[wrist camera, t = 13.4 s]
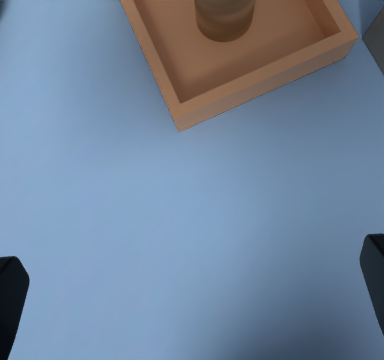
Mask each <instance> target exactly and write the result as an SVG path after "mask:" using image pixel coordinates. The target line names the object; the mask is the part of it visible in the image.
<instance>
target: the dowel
mask: <svg viewBox="0 0 384 360" xmlns="http://www.w3.org/2000/svg"><path fill="white" fill-rule="evenodd" d="M194 4H195V13H196V22H197V26H198V28H199V30H200V31H201V33H202V34H203V35H204V36H206V37H207V38H209V39H210V40H213V41H216V42H230V41H234V40H236V39H238V38H240V37H241V36H243V35H244V34H245V33H246V32H247V31H248V29H249V27H250V25H251V23H252V18H253V11H254V4H255V0H194Z"/></svg>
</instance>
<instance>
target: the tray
mask: <svg viewBox="0 0 384 360" xmlns="http://www.w3.org/2000/svg"><path fill="white" fill-rule="evenodd" d="M120 2H121V4H122V6H123V8H124V11H125V13H126V15H127V17H128V20H129V22H130V24H131V26H132V29H133V31H134V33H135V35H136V38H137V40H138V42H139V44H140V46H141V49H142V51H143V53H144V55H145V58H146V60H147V62H148V64H149V67H150V69H151V71H152V73H153V76H154V78H155V80H156V82H157V84H158V87H159V89H160V91H161V93H162V96H163V98H164V100H165V102H166V105H167V107H168V109H169V111H170V114H171V116H172V118H173V120H174V123H175V125H176V127H177V129H178V131H179V132H180V131H183V130H185V129H187V128H189V127H192V126H194V125H196V124H198V123H201V122H203V121H205V120H207V119H209V118H212V117H214V116H216V115H218V114H221V113H223V112H225V111H227V110H229V109H232V108H234V107H236V106H238V105H241V104H243V103H245V102H247V101H250V100H252V99H254V98H256V97H258V96H261V95H263V94H265V93H267V92H270V91H272V90H274V89H276V88H279V87H281V86H283V85H285V84H287V83H290V82H292V81H294V80H296V79H299V78H301V77H303V76H305V75H307V74H310V73H312V72H314V71H316V70H319V69H321V68H323V67H325V66H328V65H330V64H332V63H334V62H336V61H339V60H341V59H343V58H345V57H346V55H347V54H348V52H349V51H350V50H351V48H352V47H353V45H354V44H355V42H356V41H357V39H358V38H359V35H358V34H357V32H356V30H355V29H354V27H353V25H352V24H351V22H350V20H349V19H348V17H347V15H346V14H345V12H344V10H343V9H342V7H341V5H340V4H339V2H338V0H255V4H254V11H253V18H252V23H251V25H250V27H249V29H248V31H247V32H246V33H245V34H244V35H243V36H241V37H240V38H238V39H236V40H234V41H230V42H216V41H213V40H210V39H209V38H207V37H206V36H204V35H203V34H202V33H201V31H200V30H199V28H198V26H197V22H196V13H195V4H194V0H120Z"/></svg>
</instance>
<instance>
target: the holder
mask: <svg viewBox="0 0 384 360" xmlns="http://www.w3.org/2000/svg"><path fill="white" fill-rule="evenodd" d="M362 39H363V41H364V42H365V44H366V46H367V47H368V49H369V51H370V52H371V54H372V56H373V57H374V59H375V61H376V62H377V64H378V66H379V67H380V69H381V71H382V72H383V74H384V7H383V9H382V10H381V11H380V13H379V14H378V16H377V17H376V19H375V20H374V21H373V23H372V24H371V26H370V27H369V29H368V30H367V31H366V33H365V34H364V36H363V37H362Z"/></svg>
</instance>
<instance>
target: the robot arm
mask: <svg viewBox="0 0 384 360" xmlns="http://www.w3.org/2000/svg"><path fill="white" fill-rule="evenodd" d="M360 266H361V269H362V272H363V275H364V279H365V282H366V285H367V288H368V291H369V295H370V298H371V301H372V304H373V307H374V311H375V314H376V317H377V320H378V323H379V325H380V328H381V330H382V333H383V335H384V234H369V235H367V236H366V237H365V239H364V243H363V247H362V250H361V254H360ZM28 287H29V275H28V273H27V272H26V270H25V268H24V267H23V265H22V263H21V262H20V260H19V259H18V258H17V257H16V256H8V257H0V360H8V357H9V354H10V352H11V349H12V346H13V343H14V340H15V337H16V333H17V330H18V326H19V322H20V318H21V314H22V311H23V307H24V303H25V299H26V295H27V291H28Z"/></svg>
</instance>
